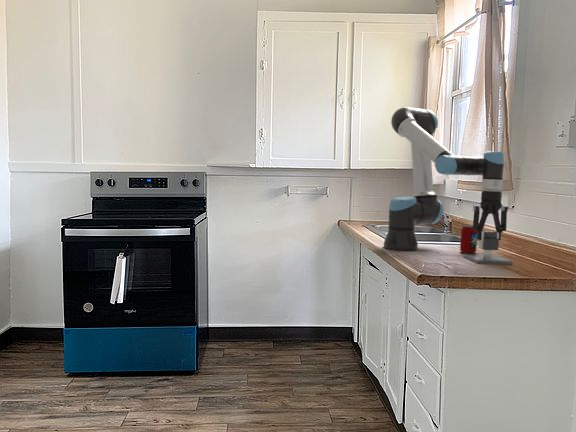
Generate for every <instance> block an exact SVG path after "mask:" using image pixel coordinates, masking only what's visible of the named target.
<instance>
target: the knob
mask: <svg viewBox="0 0 576 432" xmlns="http://www.w3.org/2000/svg"><path fill="white" fill-rule="evenodd" d="M482 232H484V242H483V249H482V250H483V251H484V250H492V251H499V244H500V243H499V241H500V240H499V239H497V238H496V237H497V231H494V230H493V231H492V230H482Z"/></svg>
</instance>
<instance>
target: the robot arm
mask: <svg viewBox="0 0 576 432" xmlns="http://www.w3.org/2000/svg"><path fill="white" fill-rule="evenodd" d="M438 121H439V120H438V117H437V115H436V113H434V111H432V110H430V109H427V108H416V107H407V106H405V107H404V106H403V107H401V108H399V109H397V110H396V111H394V113H393V114H392V116H391V121H390V123H391V127H392V129H393V130H394V132H395V133H396V134H397V135H398V136H399V137H401V138H405V139H406V140H408V141H409V142H410V143H411V159H412V176H413V177H412V178H413V190H414V191H413V194H412V195H411V196H409V195H408V196H407V195H406V196H397V197H393V198H391V199H390V200H389V201H390V202H389V206H388V231H387V234H386V235H385V238H384V242H383V248H384V249H388V250H393V251H403V252H405V251H407V252H408V251H417V250H418V249H419V248H418V246H419V245H418V243H419V242H418V240H417V237H416V233H415V231H416V230H415V228H416V226H417V225H418V226H419V225H421V226H422V225H426V226H429V225H435V224H437V223H438V222H439V221H440V220H441V219H442V217H443V214H444V205H443V203H442V202H441V200H439V199H438V194H437V193H436V192H434V184H433V183H434V181H433V165H432V162H433V163H434V167H435V171H436V172H437V173H438V174H440V175H446V176H450V175H455V176H456V175H458V176H459V175H461V176H482V179H481V180H482V183H481V190H482V191H481V195H480V199H481V201H480V203H479V204H477V205H473V206H472V207H473V220H472V221H473V222H472V225H473V230H476V231H477V241H478V245H477V246H478V247H477V248H478V249H481V250H484V249H483V242H484V232H482V231H484V227H485V223H486V222H487V220H488V219H487V218H488V217H489V215H492V218H493V222H494V223H493V224H494V227H495V232H497V237H496V238H497V239H499V241H501V239H502V234H503V232H506V231H507V217H508V210H509V206H507V205H506V206H505V205H503V204H502V198H503V197H502V196H503V192H502V190H503V181H504V180H503V178H504V176H503V174H504V167H505V166H504V165H505V154H504V152H502V151H485V152H484V153H483V156H462V155H455V154H454V153H452V152H451V151H450V150H449V149H448V148H446V147H445V146H444V145H442V144H441V143H440V142H439V141H438V140H436V139H435V138H434V134H435V132H436V131H437V129H438V125H439V122H438ZM480 210H482V211H481V217H480ZM499 211H500V215H499Z"/></svg>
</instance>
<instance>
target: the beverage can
mask: <svg viewBox="0 0 576 432" xmlns="http://www.w3.org/2000/svg"><path fill="white" fill-rule="evenodd" d="M460 229H461V231H460V246H459V251H461V253H463V254H475V253H476V252H477V248H478V247H477V246H478V240H477V231H476V230H473V224H464V225H462V227H461V228H460Z"/></svg>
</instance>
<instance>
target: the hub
mask: <svg viewBox="0 0 576 432" xmlns="http://www.w3.org/2000/svg"><path fill="white" fill-rule="evenodd" d="M492 251H493V250H484V249H483V254H475V253H472V254H469V253H463V255H462V257H463V258H464V259H466V260H469V261H471V262H474V263H476V264H484V265H485V264H490V265H492V264H493V265H513V264H514V263H513V260H511V259H508V258H506V257H503V256H500V255H497V254H492V253H493V252H492Z"/></svg>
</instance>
